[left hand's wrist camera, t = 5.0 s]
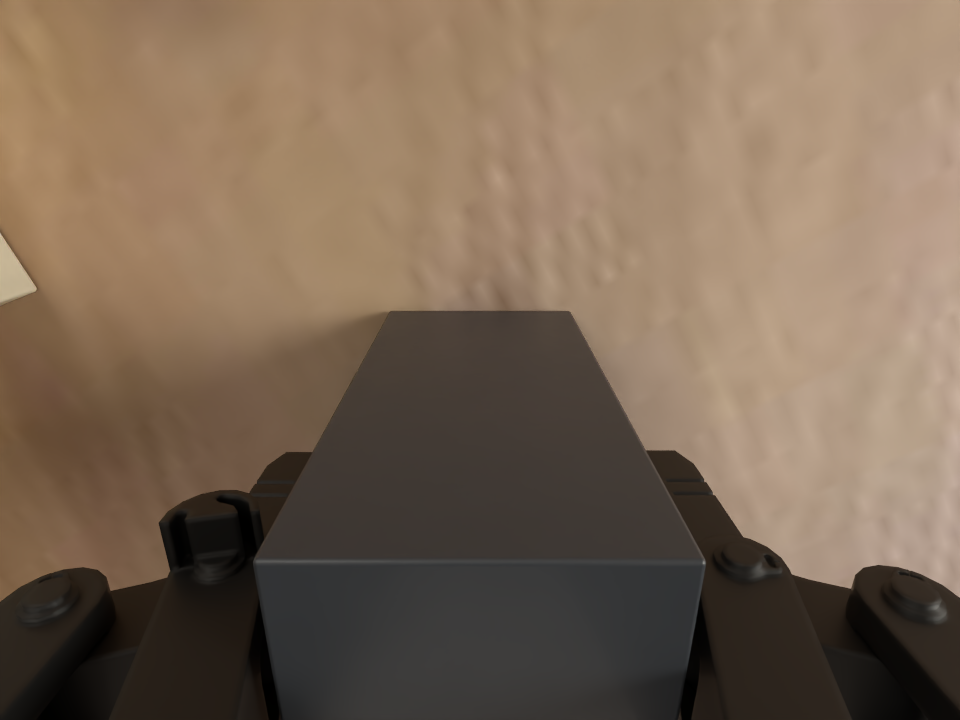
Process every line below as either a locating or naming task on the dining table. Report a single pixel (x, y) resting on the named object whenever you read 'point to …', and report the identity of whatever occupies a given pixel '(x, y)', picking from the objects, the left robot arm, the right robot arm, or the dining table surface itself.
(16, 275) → the cream block
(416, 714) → the plank
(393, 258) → the dining table surface
